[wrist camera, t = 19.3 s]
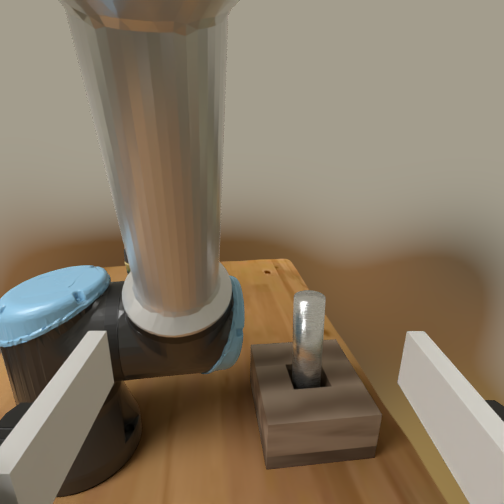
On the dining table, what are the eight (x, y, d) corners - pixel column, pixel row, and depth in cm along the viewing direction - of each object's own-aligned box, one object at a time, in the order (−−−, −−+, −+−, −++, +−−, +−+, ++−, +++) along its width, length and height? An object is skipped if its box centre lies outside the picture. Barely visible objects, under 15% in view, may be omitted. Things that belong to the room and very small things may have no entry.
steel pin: (285, 403, 51) (287, 296, 45) (303, 389, 53) (307, 287, 48) (307, 418, 48) (312, 307, 42) (324, 403, 50) (331, 297, 45)
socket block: (250, 380, 58) (250, 344, 56) (331, 374, 60) (335, 339, 57) (266, 469, 43) (268, 425, 41) (374, 457, 45) (382, 414, 42)
